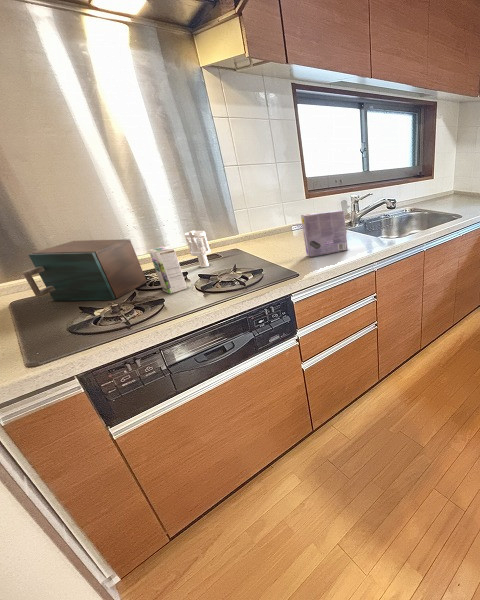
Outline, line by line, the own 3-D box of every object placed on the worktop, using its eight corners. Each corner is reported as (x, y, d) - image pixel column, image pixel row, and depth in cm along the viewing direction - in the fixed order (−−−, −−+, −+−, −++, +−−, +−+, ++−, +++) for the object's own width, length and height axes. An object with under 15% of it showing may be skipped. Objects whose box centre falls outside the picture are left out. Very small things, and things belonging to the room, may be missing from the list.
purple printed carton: (346, 247, 151) (341, 208, 144) (350, 249, 147) (346, 210, 140) (306, 255, 142) (299, 214, 134) (309, 258, 138) (303, 216, 130)
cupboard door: (99, 307, 100) (75, 258, 93) (37, 308, 101) (9, 260, 94) (115, 298, 106) (94, 252, 99) (56, 299, 106) (31, 253, 99)
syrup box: (162, 290, 111) (146, 249, 104) (180, 284, 115) (166, 245, 109) (169, 294, 108) (154, 252, 101) (188, 288, 112) (174, 247, 106)
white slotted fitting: (192, 269, 129) (179, 232, 123) (199, 264, 135) (187, 228, 129) (210, 268, 130) (199, 231, 124) (216, 262, 136) (206, 227, 130)
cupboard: (116, 298, 106) (95, 251, 99) (57, 299, 106) (31, 253, 99) (147, 282, 118) (130, 239, 111) (94, 283, 119) (73, 240, 112)
